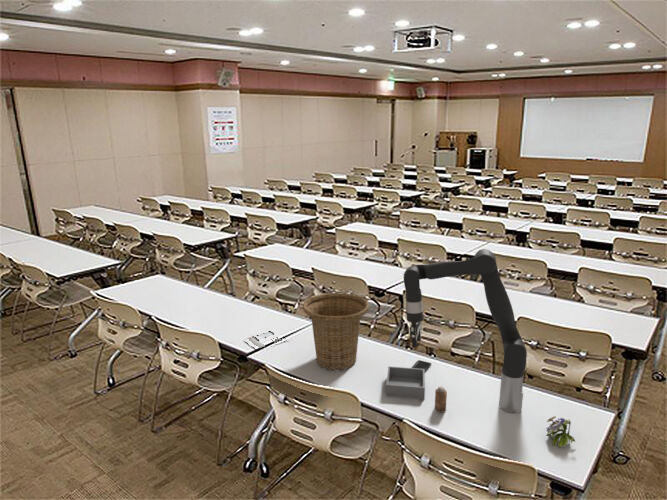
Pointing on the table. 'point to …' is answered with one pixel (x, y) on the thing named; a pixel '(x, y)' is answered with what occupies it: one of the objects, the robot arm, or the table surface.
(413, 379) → the bin
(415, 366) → the phone
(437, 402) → the pepper mill
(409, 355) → the table surface
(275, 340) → the office telephone
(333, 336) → the wicker basket
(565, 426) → the passion flower
